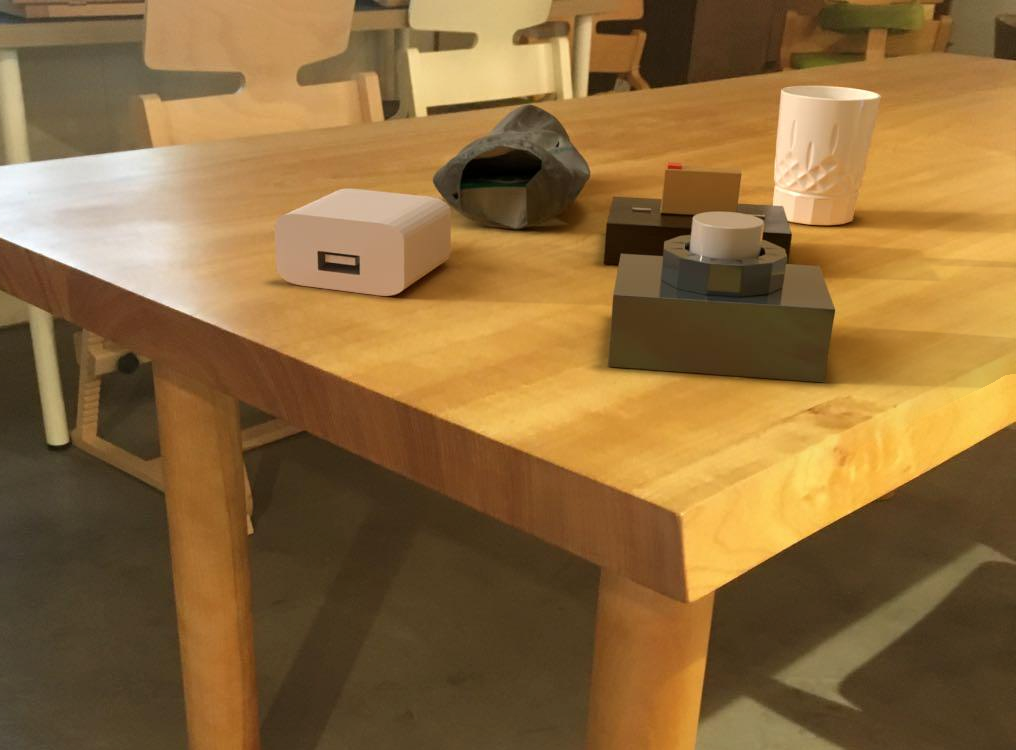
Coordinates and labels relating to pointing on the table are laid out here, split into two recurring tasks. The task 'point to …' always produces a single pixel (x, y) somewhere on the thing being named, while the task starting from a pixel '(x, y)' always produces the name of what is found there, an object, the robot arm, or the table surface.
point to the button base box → (721, 314)
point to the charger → (363, 241)
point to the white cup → (822, 151)
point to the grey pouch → (515, 172)
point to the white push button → (726, 235)
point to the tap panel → (673, 227)
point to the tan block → (699, 189)
